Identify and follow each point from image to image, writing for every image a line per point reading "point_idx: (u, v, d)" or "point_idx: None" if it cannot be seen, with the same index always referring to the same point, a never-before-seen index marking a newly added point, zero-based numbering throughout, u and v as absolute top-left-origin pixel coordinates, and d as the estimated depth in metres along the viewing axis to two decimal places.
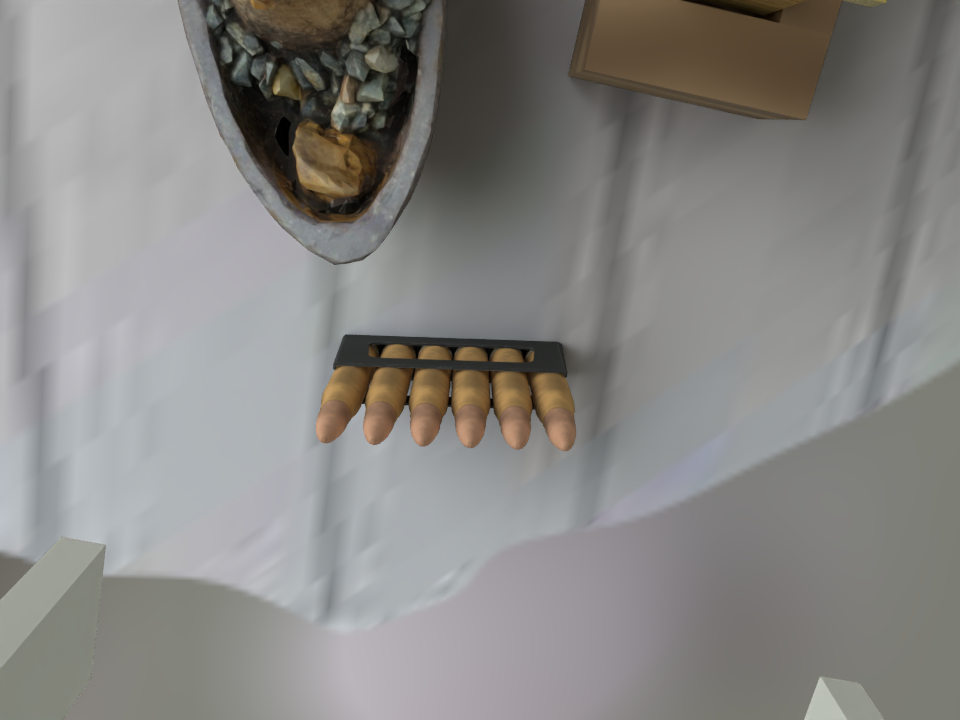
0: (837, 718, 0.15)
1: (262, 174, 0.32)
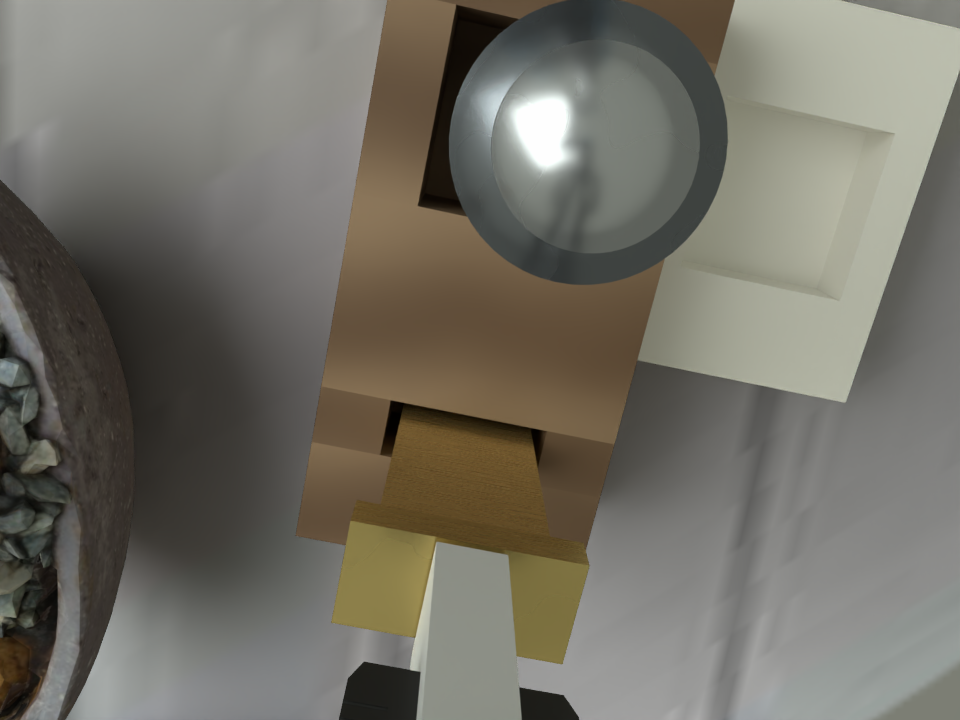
0: (470, 579, 0.17)
1: None
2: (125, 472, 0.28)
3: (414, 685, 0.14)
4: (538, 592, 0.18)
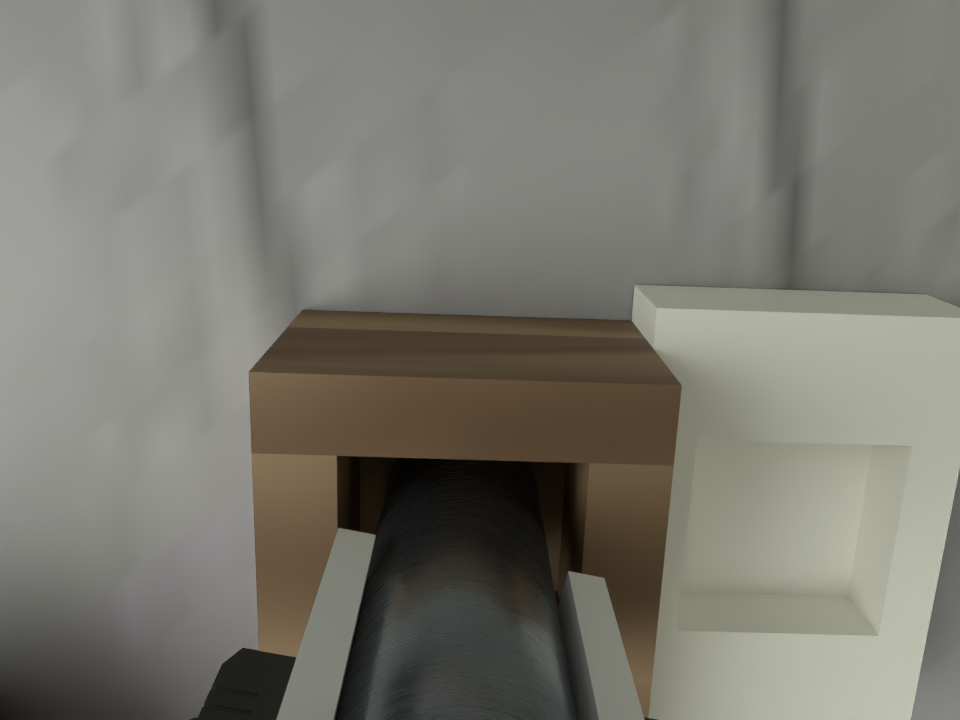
0: (571, 603, 0.17)
1: None
2: None
3: (291, 672, 0.14)
4: None
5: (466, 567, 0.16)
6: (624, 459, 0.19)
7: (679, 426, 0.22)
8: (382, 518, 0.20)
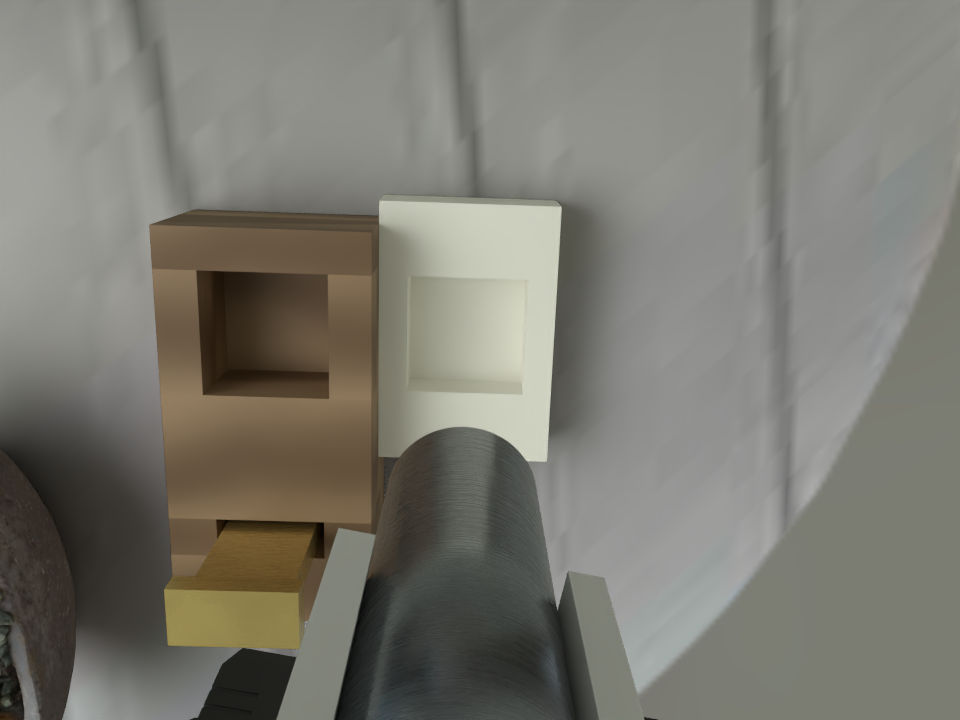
0: (571, 603, 0.17)
1: None
2: (60, 591, 0.42)
3: (291, 672, 0.14)
4: (275, 611, 0.33)
5: (465, 566, 0.16)
6: (345, 272, 0.36)
7: (397, 268, 0.39)
8: (382, 518, 0.20)
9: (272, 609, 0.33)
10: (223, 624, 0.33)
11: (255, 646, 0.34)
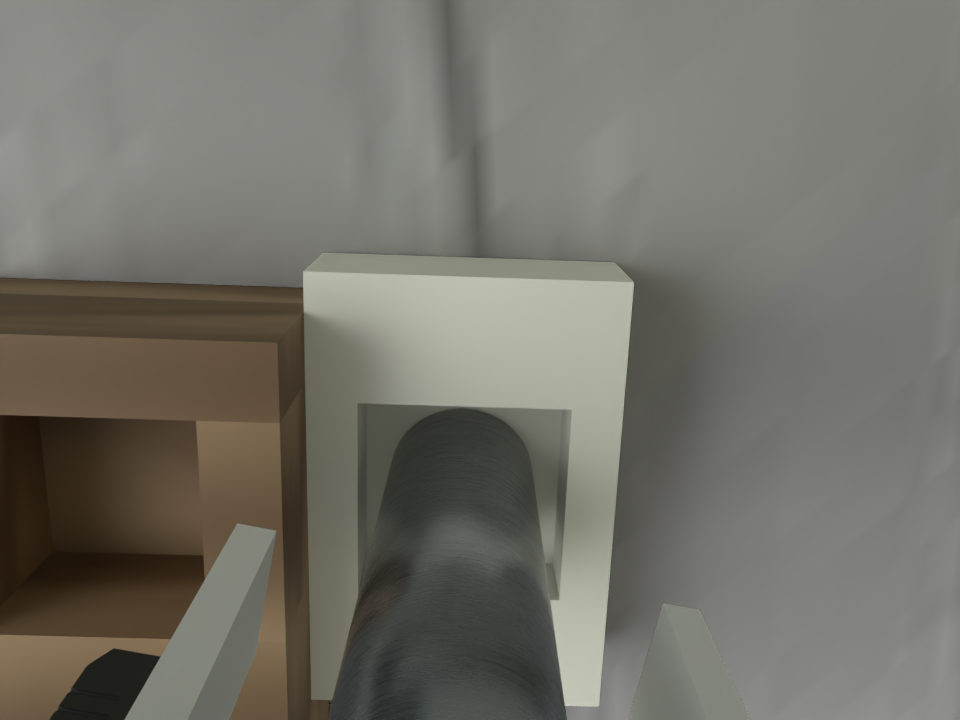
0: (671, 638, 0.16)
1: None
2: None
3: None
4: None
5: (460, 536, 0.17)
6: (230, 417, 0.19)
7: (338, 390, 0.22)
8: (385, 494, 0.21)
9: None
10: None
11: None
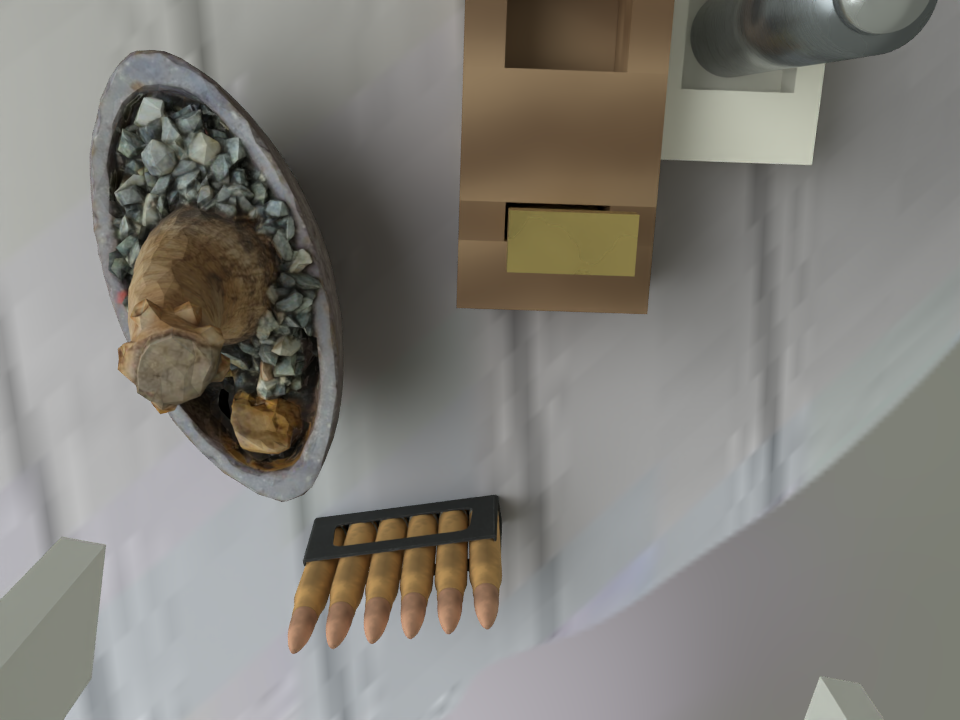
0: (838, 719, 0.15)
1: (211, 444, 0.40)
2: None
3: None
4: (614, 235, 0.34)
5: None
6: None
7: None
8: (713, 6, 0.40)
9: (612, 232, 0.34)
10: (563, 248, 0.34)
11: (591, 273, 0.34)
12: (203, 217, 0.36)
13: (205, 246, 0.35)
